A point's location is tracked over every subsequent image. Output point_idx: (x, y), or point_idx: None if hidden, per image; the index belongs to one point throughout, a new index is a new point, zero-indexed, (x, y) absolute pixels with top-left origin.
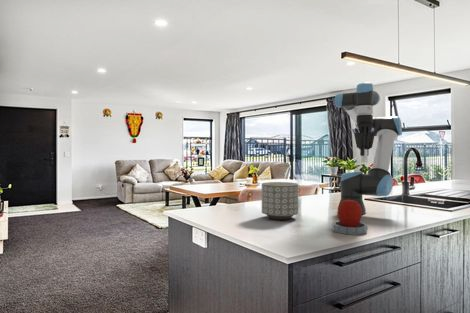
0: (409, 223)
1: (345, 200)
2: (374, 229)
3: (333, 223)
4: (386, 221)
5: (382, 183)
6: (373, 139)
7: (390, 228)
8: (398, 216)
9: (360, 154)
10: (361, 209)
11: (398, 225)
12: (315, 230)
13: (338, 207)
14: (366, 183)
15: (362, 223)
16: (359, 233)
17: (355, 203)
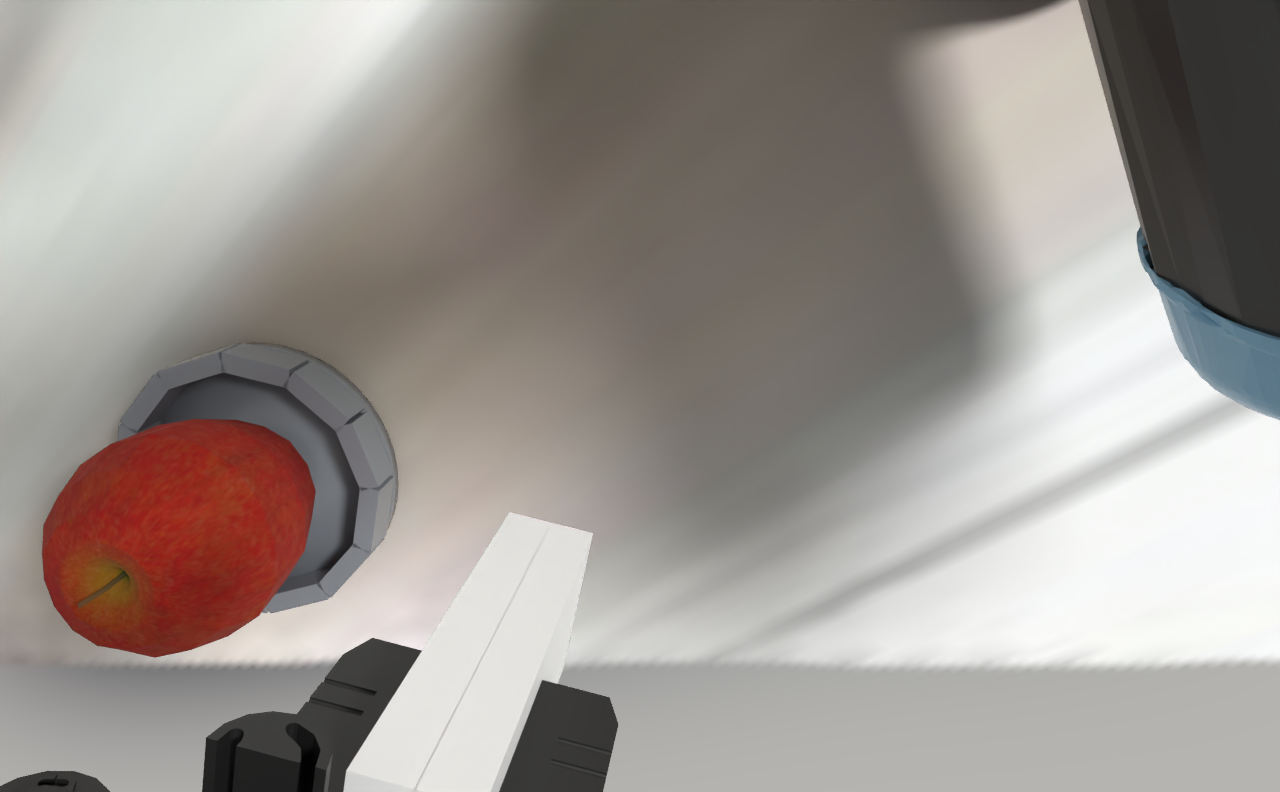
0: (972, 569)
1: (59, 570)
2: (489, 537)
3: (137, 400)
4: (876, 404)
5: (1226, 361)
6: None
7: (634, 585)
8: None
9: (339, 667)
10: (233, 630)
11: (801, 560)
12: (41, 310)
13: (69, 480)
14: (1135, 70)
15: (357, 528)
16: None
17: (125, 649)
